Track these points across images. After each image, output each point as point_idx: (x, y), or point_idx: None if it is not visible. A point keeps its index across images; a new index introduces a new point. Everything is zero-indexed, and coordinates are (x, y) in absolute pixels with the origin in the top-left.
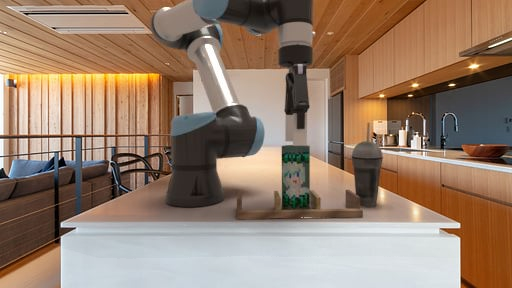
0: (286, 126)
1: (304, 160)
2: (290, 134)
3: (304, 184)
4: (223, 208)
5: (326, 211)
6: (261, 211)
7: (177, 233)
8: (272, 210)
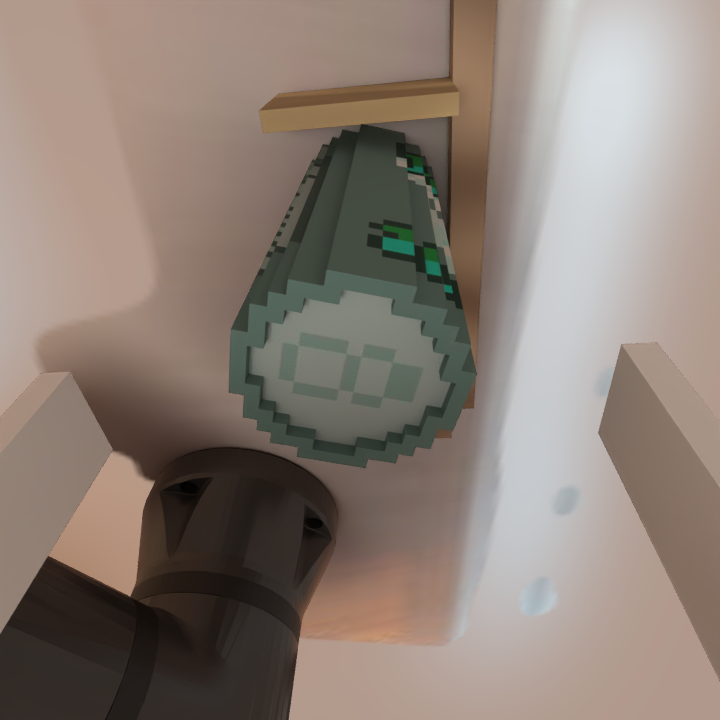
0: (31, 571)
1: (446, 270)
2: (58, 468)
3: (434, 206)
4: None
5: (493, 52)
6: None
7: (565, 495)
8: None
